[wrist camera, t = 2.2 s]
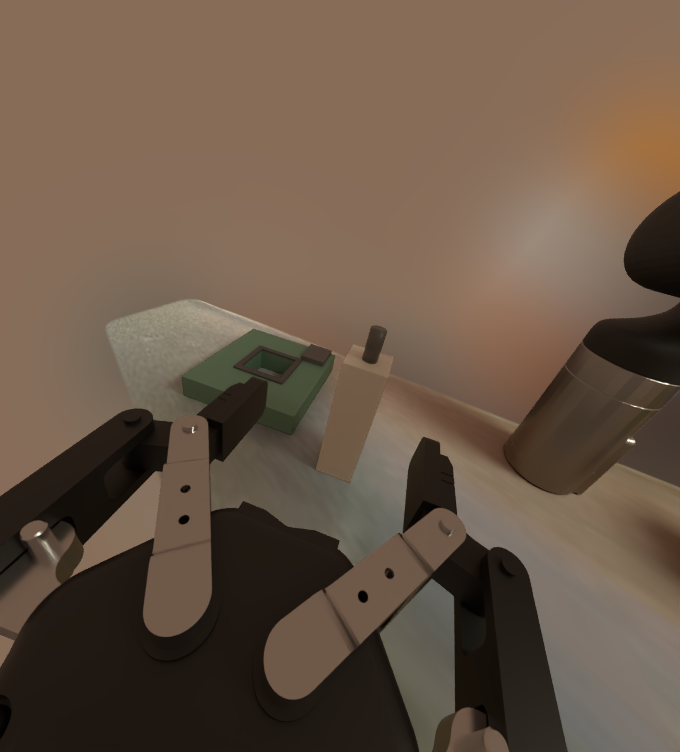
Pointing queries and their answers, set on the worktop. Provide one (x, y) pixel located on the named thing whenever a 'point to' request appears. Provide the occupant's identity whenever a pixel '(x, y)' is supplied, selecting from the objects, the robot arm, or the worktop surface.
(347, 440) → the plug
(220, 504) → the worktop surface
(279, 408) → the green square socket base
